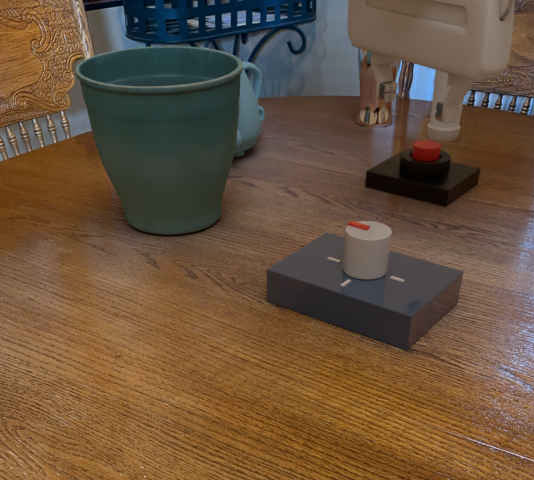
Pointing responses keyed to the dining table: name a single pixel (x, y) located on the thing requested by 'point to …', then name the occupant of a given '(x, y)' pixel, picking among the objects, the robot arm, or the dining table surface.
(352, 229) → the tap knob
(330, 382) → the dining table surface
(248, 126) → the decorative pot
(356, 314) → the panel
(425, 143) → the button
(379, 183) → the box
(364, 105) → the beer glass
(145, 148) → the flower pot
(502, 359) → the dining table surface
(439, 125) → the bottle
